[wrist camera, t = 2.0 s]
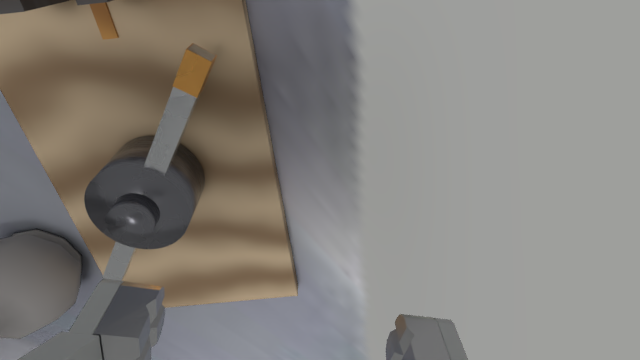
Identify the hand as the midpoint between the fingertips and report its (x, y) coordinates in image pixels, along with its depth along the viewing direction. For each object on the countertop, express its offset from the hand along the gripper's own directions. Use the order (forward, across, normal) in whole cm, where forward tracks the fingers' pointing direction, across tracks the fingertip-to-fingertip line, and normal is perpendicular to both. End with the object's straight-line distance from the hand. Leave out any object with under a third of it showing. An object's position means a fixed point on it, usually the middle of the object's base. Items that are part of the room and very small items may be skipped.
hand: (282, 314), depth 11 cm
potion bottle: (+21, +21, +22) cm, 37 cm away
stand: (+21, +10, +9) cm, 25 cm away
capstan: (+19, +9, +7) cm, 23 cm away
